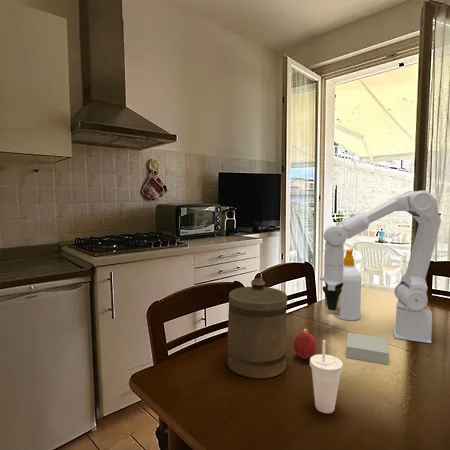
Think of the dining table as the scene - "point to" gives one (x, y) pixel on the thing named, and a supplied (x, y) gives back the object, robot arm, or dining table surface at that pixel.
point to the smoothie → (325, 380)
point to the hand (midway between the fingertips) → (332, 307)
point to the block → (333, 312)
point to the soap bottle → (350, 290)
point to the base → (367, 348)
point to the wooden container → (257, 330)
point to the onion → (305, 344)
